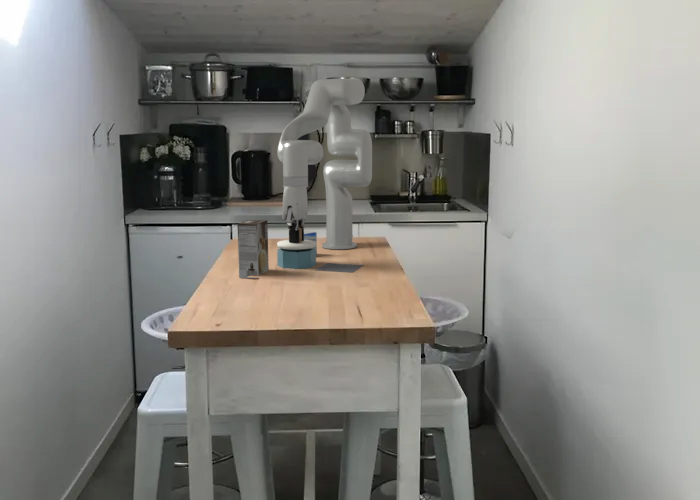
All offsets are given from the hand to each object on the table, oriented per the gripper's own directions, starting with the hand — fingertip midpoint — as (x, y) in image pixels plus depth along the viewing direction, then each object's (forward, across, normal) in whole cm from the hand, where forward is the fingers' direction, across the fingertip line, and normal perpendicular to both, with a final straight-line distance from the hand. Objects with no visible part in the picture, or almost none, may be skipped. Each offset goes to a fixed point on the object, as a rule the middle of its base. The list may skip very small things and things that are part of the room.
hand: (296, 241), depth 223 cm
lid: (+2, 0, 0) cm, 2 cm away
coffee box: (+9, +14, -8) cm, 18 cm away
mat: (+8, 0, +14) cm, 16 cm away
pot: (+8, 0, 0) cm, 8 cm away
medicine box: (+9, -17, -4) cm, 19 cm away
